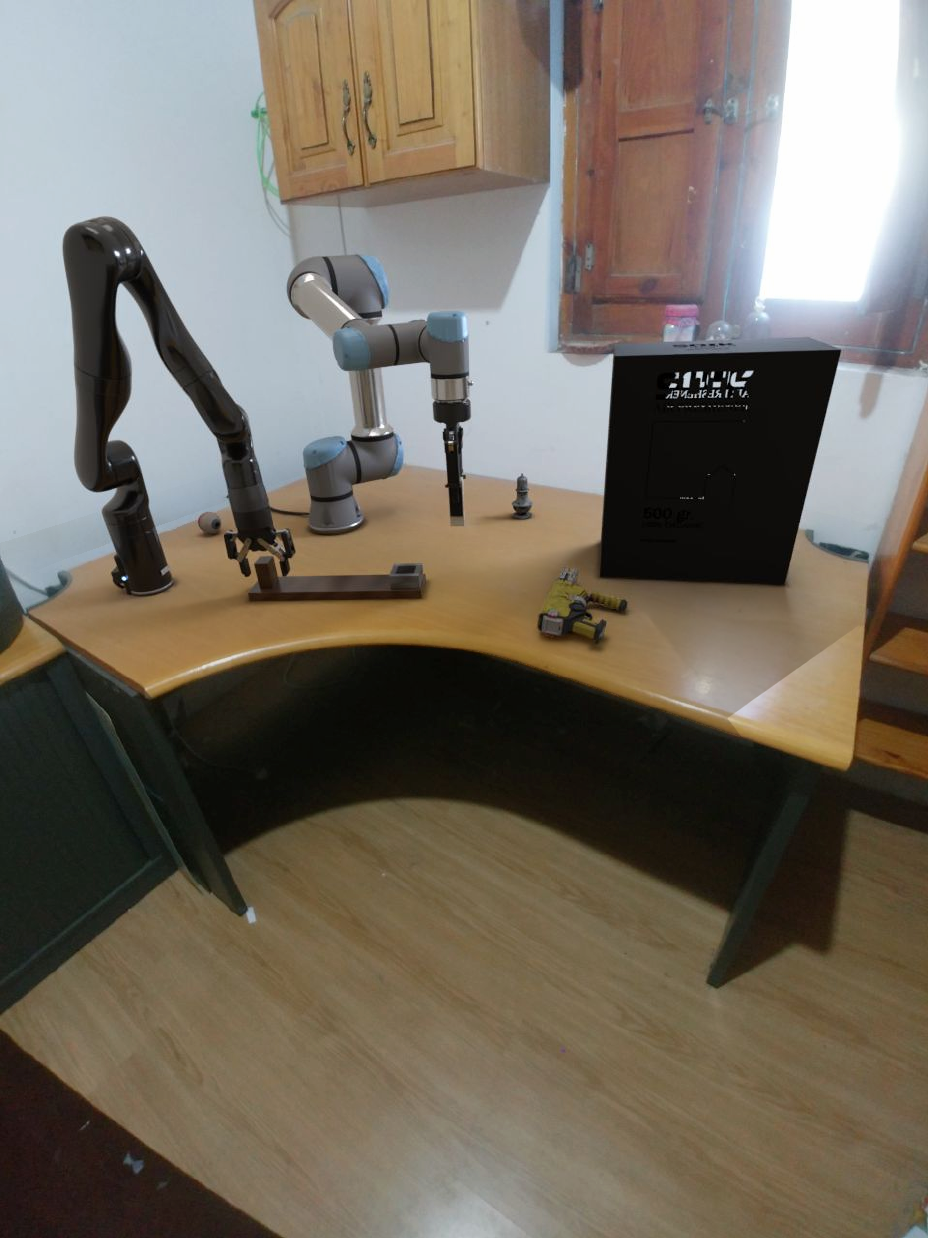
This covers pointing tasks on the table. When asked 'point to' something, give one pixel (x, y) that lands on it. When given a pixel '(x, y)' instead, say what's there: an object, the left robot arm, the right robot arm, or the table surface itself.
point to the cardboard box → (711, 457)
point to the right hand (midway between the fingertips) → (457, 512)
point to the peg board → (337, 584)
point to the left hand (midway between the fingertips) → (267, 575)
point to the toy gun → (574, 609)
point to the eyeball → (209, 522)
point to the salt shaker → (522, 499)
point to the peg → (461, 519)
